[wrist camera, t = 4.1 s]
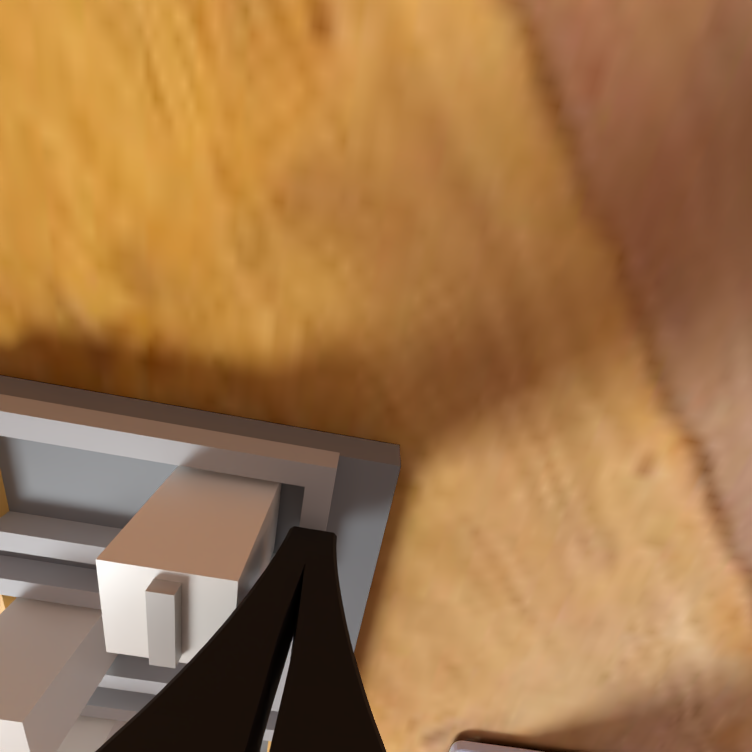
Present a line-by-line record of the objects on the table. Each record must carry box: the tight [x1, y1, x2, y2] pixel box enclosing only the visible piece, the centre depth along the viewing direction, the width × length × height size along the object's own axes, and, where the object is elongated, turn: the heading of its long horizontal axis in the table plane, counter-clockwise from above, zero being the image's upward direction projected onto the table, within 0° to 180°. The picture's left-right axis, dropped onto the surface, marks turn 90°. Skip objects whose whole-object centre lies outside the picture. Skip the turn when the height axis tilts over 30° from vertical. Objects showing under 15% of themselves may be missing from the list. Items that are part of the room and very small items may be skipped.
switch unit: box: [0, 375, 401, 752], centre depth 14 cm, size 15×18×2 cm
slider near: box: [96, 466, 282, 668], centre depth 10 cm, size 3×3×4 cm
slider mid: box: [0, 597, 118, 752], centre depth 12 cm, size 3×3×4 cm
